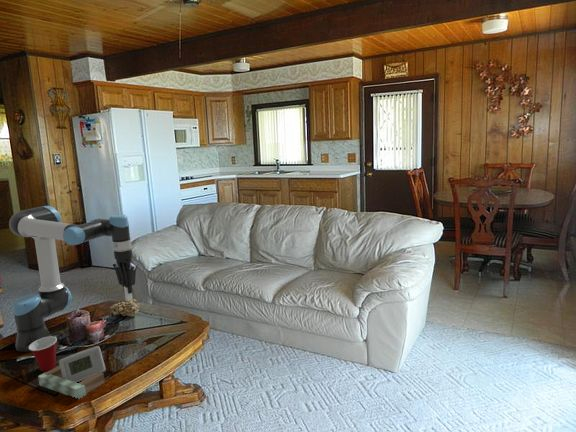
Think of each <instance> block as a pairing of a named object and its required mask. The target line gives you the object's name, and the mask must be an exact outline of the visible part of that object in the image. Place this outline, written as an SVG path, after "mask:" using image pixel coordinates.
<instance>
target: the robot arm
mask: <svg viewBox="0 0 576 432" xmlns="http://www.w3.org/2000/svg"><path fill="white" fill-rule="evenodd" d="M129 225H130V224H129V220H128V216H127V215H126V214H114V215H111V216H110V217H109V219H107V218H93V219H91V220H90V221H88V222H86V223H81V224H73V223H68V222H67V223H65V222H62V218H61V215H60V212H59V211H58V210H56V208H55V207H53V206H50V205H44V206H38V207H31V208H28V209H23V210H19V211H17V212H15V213H14V214H12V216H11V217H10V219H9V221H8V226H9V229H10V231H11V232H12V233H13V234H14V235H16V236H18V237H23V238H32V239H33V240H34V244H35V245H34V246H35V251H36V252H35V253H36V257H37V264H38V271H39V278H40V287H39V288H38V293H31V294H27V295H24V296H22V297H19V298H17V299H16V300H15V301H14V302H13V305H12V314H13V316H14V321H15V322H14V323H15V326H16V332H17V333H16V338H15V350H16V351H18V352H22V353H24V352H32V351H31V350H30V349H29V345H30V344H31V343H33V342H35V341H36V340H39V339H41V338H45V337H51V336H52V334H51V332H50V331H49V329H48V328H47V326H46V323H45V319H46V318H49V317H51V316H53V315H55V314H57V313H61V312H62V311H64V310H65V309H67V308H69V306H70V305H71V303H72V298H73V297H72V292H71V291H70V288H68V287H67V286H65V283H64V282H61V275H60V269H59V260H58V254H57V245H56V240H58V241H63V242H65V243H66V244H67V245H68V246H76V245H77V246H78V245H80V244H83V243H86V242H89V241H91V240H95V239H99V238H101V237H111V240H112V246H113V255H114V259H115V260H116V261H115V263H113V264H112V267H113V269H114V270H115V274H116V277H117V281H118V284H119V285H121V286H122V288H123V293H124V298H125V302H127V301H129V300H132V299H134V298H133V286H134V285H136V274H137V272H136V271H137V269H138V265H137V264H133V260H132V257H133V250H132V241H131V234H130V226H129Z"/></svg>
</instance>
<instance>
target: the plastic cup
mask: <svg viewBox="0 0 576 432" xmlns="http://www.w3.org/2000/svg"><path fill="white" fill-rule="evenodd" d="M57 340H58V338H57V337H56V336H53V335H51V337H45V338H41V339H39V340H36V341H35V342H33V343H31V344H30V345H29V349H30V350H31V351H30V352H32V354H33V357H34V359H35V361H36V363H37V366H38V368H39V370H40V371H41V372H48V371H50V370H52V369H54V368H56V361H57V360H56V359H57Z"/></svg>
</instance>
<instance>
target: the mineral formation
mask: <svg viewBox="0 0 576 432" xmlns="http://www.w3.org/2000/svg"><path fill="white" fill-rule="evenodd" d="M136 302H137V299H135V298H133V299H131V300H129V301H125V302H124V301H121V302H118V303H115V304H113V305H111V306H110V307H109V309H111V313H112V314H113V315H114V316H117V315H122V316H123V317H126V316H127V317H131V318H133V317H135V315H136V314H138V312H139V309H140V307H139V306H140V305H141V304H140V303H136Z"/></svg>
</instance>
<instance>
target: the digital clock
mask: <svg viewBox="0 0 576 432" xmlns="http://www.w3.org/2000/svg"><path fill="white" fill-rule="evenodd" d="M59 365H60V369H61V373H62V378H64V379H67V380H70V381H73V382H76V383H77V382H79V383H80V381H81V382H82V381H83V380H85V379H87V378H88V377H90V376H92V375H93V374H95V373H97V372H102V373H104V372H106V364H105V361H104V357H103V354H102V350H101V348H100V346H99V345H97V346H93V347H90V348H87V349H83V350H81V351H77V352H75V353H72V354H70V355H68V356H66V357H63V358H61V359H59V360H58V366H59Z"/></svg>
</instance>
